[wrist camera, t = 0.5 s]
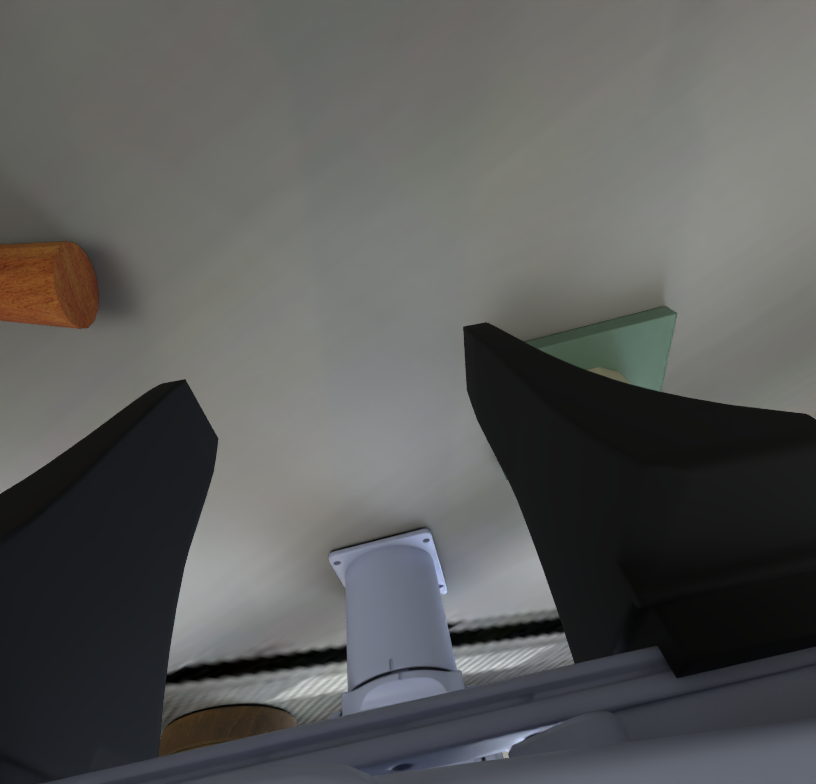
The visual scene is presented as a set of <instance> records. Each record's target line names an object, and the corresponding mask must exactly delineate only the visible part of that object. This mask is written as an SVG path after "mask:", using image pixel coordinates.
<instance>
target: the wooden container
mask: <svg viewBox="0 0 816 784" xmlns="http://www.w3.org/2000/svg"><path fill="white" fill-rule="evenodd" d="M296 726H297V721H296V719H295V718H294V717H293V716H292V715H290V714H289V713H287V712H284V711H282V710H279V709H275V708H270V707H264V706H227V707H219V708H213V709H208V710H203V711H199V712H196V713H193V714H190V715H187V716H185V717H182V718H180V719H178V720H176V721H174V722H173V723H171V724H170V725H168V726H167V727H166V728H165V730H164V731H163V734H162V737H161V741H160V746H159V757H162V756H166V755H171V754H175V753H180V752H184V751H189V750H193V749H198V748H202V747H207V746H211V745H216V744H220V743H224V742H229V741H233V740H238V739H242V738H247V737H251V736H256V735H260V734H265V733H269V732H274V731H278V730H282V729H287V728H291V727H296Z"/></svg>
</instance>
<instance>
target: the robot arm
mask: <svg viewBox="0 0 816 784" xmlns="http://www.w3.org/2000/svg"><path fill="white" fill-rule="evenodd" d="M463 331H464V348H465V365H466V382H467V392H468V395H469V398H470V401H471V404H472V407H473V409H474V412H475V415H476V418H477V420H478V422H479V424H480V426H481V428H482V430H483V432H484V434H485V436H486V438H487V440H488V442H489V444H490V446H491V448H492V450H493V452H494V454H495V456H496V458H497V460H498V462H499V464H500V465H501V467H502V469H503V471H504V473H505V475H506V477H507V479H508V481H509V483H510V485H511V487H512V489H513V492H514V494H515V496H516V498H517V500H518V503H519V506H520V508H521V511H522V513H523V516H524V519H525V521H526V524H527V527H528V529H529V532H530V534H531V537H532V540H533V543H534V545H535V548H536V551H537V554H538V556H539V559H540V562H541V565H542V567H543V570H544V573H545V576H546V579H547V582H548V585H549V587H550V590H551V593H552V596H553V599H554V602H555V605H556V608H557V611H558V614H559V617H560V620H561V623H562V626H563V629H564V632H565V635H566V638H567V641H568V644H569V647H570V650H571V653H572V657H573V660H574V663H575V664H573V665H568V666H564V667H559V668H555V669H550V670H546V671H541V672H537V673H532V674H528V675H523V676H519V677H514V678H510V679H506V680H501V681H497V682H492V683H488V684H483V685H479V686H474V685H468V686H466V687H465V686H464V681H463V677H462V672H461V671H460V670H457V668H456V663H455V658H454V654H453V649H452V644H451V640H450V635H449V630H448V626H447V621H446V616H445V612H444V607H443V602H442V598H441V595H443V594H445V593H446V592H447V586H446V583H445V579H444V576H443V572H442V569H441V566H440V562H439V559H438V555H437V552H436V548H435V545H434V541H433V538H432V535H431V531H430V530H429V529H421V530H417V531H413V532H409V533H405V534H401V535H397V536H393V537H389V538H385V539H381V540H377V541H373V542H369V543H365V544H361V545H357V546H353V547H349V548H346V549H342V550H338V551H334V552H331V553H330V554H329V555H328V560H329V562H330V564H331V565H332V567H333V569H334V570H335V572H336V574H337V576H338V577H339V579H340V581H341V582H342V584H343V586H344V587H345V589H346V629H347V677H348V692H345V693H343V694H342V711H339V712H335V713H333V714H332V716H331V718H330V719H327V720H323V721H318V722H314V723H309V724H305V725H300V726H296V727H291V728H287V729H282V730H278V731H274V732H269V733H265V734H260V735H256V736H251V737H247V738H242V739H238V740H233V741H229V742H224V743H220V744H216V745H211V746H207V747H202V748H198V749H193V750H189V751H184V752H180V753H175V754H171V755H166V756H162V757H159V746H160V734H161V722H162V711H163V699H164V691H165V683H166V675H167V667H168V659H169V651H170V645H171V638H172V632H173V626H174V620H175V614H176V608H177V602H178V597H179V592H180V587H181V582H182V577H183V572H184V567H185V563H186V560H187V556H188V552H189V549H190V546H191V543H192V539H193V536H194V533H195V530H196V527H197V524H198V521H199V518H200V514H201V511H202V508H203V505H204V502H205V499H206V496H207V492H208V489H209V486H210V483H211V479H212V476H213V472H214V466H215V460H216V453H217V445H218V437H217V435H216V434H215V432H214V430H213V428H212V426H211V425H210V423H209V421H208V419H207V417H206V416H205V414H204V412H203V410H202V408H201V407H200V405H199V403H198V401H197V399H196V398H195V396H194V394H193V392H192V390H191V389H190V387H189V385H188V383H187V381H186V380H185V379H184V380H179V381H173V382H168V383H163V384H160V385H158V386H156V387H155V388H153V389H151V390H150V391H148V392H147V393H145V394H144V395H142V396H141V397H139V398H138V399H136V400H135V401H134V402H132V403H131V404H130V405H128V406H127V407H126V408H124V409H123V410H121V411H120V412H119V413H117V414H116V415H115V416H113V417H112V418H111V419H109V420H108V421H107V422H105V423H104V424H103V425H101V426H100V427H99V428H97V429H96V430H95V431H93V432H92V433H91V434H89V435H88V436H87V437H85V438H84V439H82V440H81V441H79V442H78V443H77V444H75V445H74V446H72V447H71V448H69V449H68V450H67V451H65V452H64V453H62V454H61V455H60V456H58V457H57V458H55V459H54V460H52V461H51V462H50V463H48V464H47V465H45V466H44V467H42V468H41V469H39V470H38V471H36V472H35V473H33V474H32V475H30V476H28V477H27V478H25V479H24V480H22V481H21V482H19V483H17V484H16V485H14V486H12V487H11V488H9V489H8V490H6V491H4V492H3V493H1V494H0V784H816V419H814V418H813V417H811V416H809V415H807V414H802V413H794V412H785V411H777V410H768V409H760V408H751V407H743V406H734V405H728V404H722V403H716V402H710V401H704V400H699V399H693V398H687V397H683V396H678V395H673V394H668V393H664V392H659V391H655V390H651V389H647V388H643V387H639V386H635V385H632V384H628V383H625V382H621V381H618V380H614V379H611V378H608V377H605V376H603V375H600V374H597V373H594V372H591V371H588V370H585V369H582V368H580V367H577V366H575V365H572V364H570V363H568V362H565V361H563V360H561V359H558V358H556V357H554V356H552V355H550V354H547V353H545V352H543V351H541V350H539V349H537V348H535V347H533V346H531V345H529V344H527V343H525V342H523V341H521V340H520V339H518V338H516V337H514V336H512V335H510V334H508V333H507V332H505V331H503V330H501V329H499V328H497V327H495V326H493V325H491V324H489V323H481V324H475V325H470V326H465V327H463ZM506 751H509V754H508V755H509V758H503V753H502V752H506Z"/></svg>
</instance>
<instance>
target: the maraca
mask: <svg viewBox="0 0 816 784" xmlns="http://www.w3.org/2000/svg"><path fill="white" fill-rule="evenodd" d="M98 301H99V293H98V285H97V279H96V276H95V272H94V269H93V266H92V264H91V262H90V260H89V258H88V257H87V255H86V253H85V252H84V251H83V250H82V249H81V248H80V247H79V246H78V245H77V244H76V243H72V242H68V241H66V242H45V243H24V244H3V245H0V321H9V322H19V323H29V324H39V325H49V326H59V327H68V328H78V329H82V328H88V327H89V326H90V325H91V324H92V323H93V322H94V321H95V317H96V314H97V311H98Z"/></svg>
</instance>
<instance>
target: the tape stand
mask: <svg viewBox="0 0 816 784" xmlns="http://www.w3.org/2000/svg"><path fill="white" fill-rule="evenodd" d="M676 318H677V313H676V312H674V311H673V310H671V309H670V308H668V307H666V306H664V307H660V308H656V309H652V310H648V311H644V312H640V313H636V314H632V315H629V316H625V317H621V318H617V319H613V320H609V321H605V322H601V323H597V324H593V325H589V326H585V327H581V328H577V329H573V330H570V331H566V332H562V333H558V334H554V335H550V336H546V337H542V338H538V339H534V340H530V341H526V342H525V343H527V344H529V345H531V346H533V347H535V348H537V349H539V350H541V351H543V352H545V353H547V354H550V355H552V356H554V357H556V358H558V359H561V360H563V361H565V362H568V363H570V364H572V365H575V366H577V367H580V368H582V369H585V370H588V369H592V368H596V367H601V368H605V369H609V370H613V371H618V372H619V373H621V374H622V375H623V376H624V377H625V378H626V379H627V380H628V381H629V382H630V383H631V384H632V385H635V386H639V387H643V388H647V389H651V390H655V391H659V392H661V388H662V383H663V378H664V374H665V369H666V364H667V360H668V355H669V350H670V346H671V341H672V336H673V332H674V327H675V322H676ZM502 470H503V469H502ZM503 473H504V471H503ZM504 475H505V473H504ZM505 477H506V475H505ZM506 479H507V477H506ZM507 480H508V479H507Z"/></svg>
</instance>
